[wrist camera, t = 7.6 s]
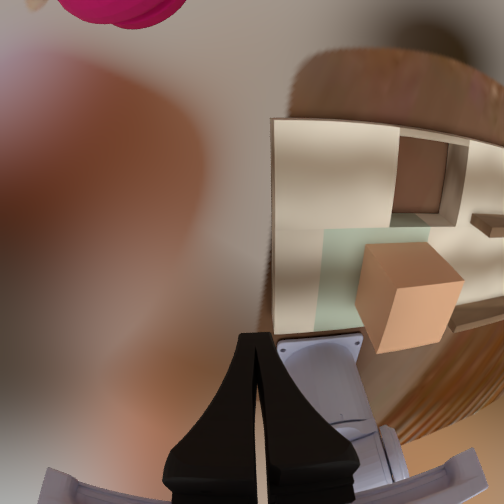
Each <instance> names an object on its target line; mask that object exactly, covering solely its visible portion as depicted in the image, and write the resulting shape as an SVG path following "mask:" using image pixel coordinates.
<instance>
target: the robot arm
mask: <svg viewBox="0 0 504 504" xmlns="http://www.w3.org/2000/svg"><path fill="white" fill-rule="evenodd" d="M357 341H358V342H357ZM362 341H363V335H362V334H361V333H355V334H346V335H337V336H328V337H317V338H305V339H292V340H281V341H279V342H278V344H277V349H276V347H275V344H274V342H273V338H272V335H271V333H270V332H258V333H241V334H239V337H238V342H237V346H236V350H235V353H234V356H233V359H232V362H231V364H230V366H229V369H228V372H227V374H226V376H225V378H224V380H223V382H222V384H221V386H220V388H219V390H218V391H217V393H216V395H215V397H214V398H213V400H212V402H211V403H210V405H209V406H208V408H207V409H206V411H205V412H204V413H203V415H202V416H201V417H200V419H199V420H198V421H197V422H196V424H195V425H194V426H193V427H192V428H191V430H190V431H189V432H188V433H187V434H186V435H185V436H184V438H183V439H182V440H181V441H180V442H179V443H178V444H177V445H176V446H175V447H174V448H173V449H172V450H171V451H170V453H169V455H168V458H167V460H166V463H165V466H164V472H163V479H162V482H163V484H164V485H165V486H166V487H167V488H168V489H169V490H171V491H172V502H169V501H162V500H156V499H149V498H143V497H138V496H133V495H128V494H124V493H119V492H115V491H110V490H107V489H103V488H99V487H96V486H92V485H89V484H86V483H82V482H79V481H78V480H77V479H75V478H74V477H72V476H71V475H69V474H66V473H63V472H60V471H58V470H55V469H52V468H50V467H48V468H47V471H46V474H45V477H44V481H43V484H42V488H41V492H40V496H39V500H38V504H258V498H257V478H256V454H255V408H256V392H257V385H258V392H259V398H260V404H261V410H262V417H263V424H264V436H265V454H266V474H267V494H268V504H461V503H463V502H465V501H467V500H469V499H470V498H472V497H474V496H475V495H477V494H479V493H480V492H482V491H484V490H485V489H487V488H488V484H487V481H486V478H485V475H484V473H483V470H482V467H481V465H480V462H479V460H478V457H477V455H476V452H475V450H474V448H470V449H468V450H466V451H464V452H461V453H459V454H457V455H455V456H453V457H452V458H450V459H449V460H448V461H447V462H445V464H443V465H441V466H438V467H436V468H434V469H431V470H428V471H426V472H423V473H421V474H418V475H415V476H412V477H409V473H408V469H407V466H406V462H405V459H404V455H403V452H402V449H401V446H400V443H399V440H398V437H397V434H396V432H395V430H394V428H391V427H388V426H387V425H383V426H381V427H380V431H381V434H382V439H381V436H380V433H379V430H378V427H377V425H376V422H375V419H374V418H373V414H372V411H371V408H370V405H369V402H368V399H367V396H366V393H365V390H364V387H363V384H362V381H361V378H360V375H359V372H358V369H357V366H356V361H357V358H358V354H359V351H360V348H361V344H362ZM382 440H383V442H382ZM383 444H384V446H383ZM384 447H385V449H384ZM392 475H393V477H392ZM393 479H394V480H393Z"/></svg>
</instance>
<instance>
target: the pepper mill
mask: <svg viewBox="0 0 504 504" xmlns="http://www.w3.org/2000/svg"><path fill="white" fill-rule="evenodd" d="M58 1H59V2H60V4H61V5H62V6H63V7H64V9H66V10H67V11H68V12H70V13H71V14H72V15H74V16H76V17H78V18H79V19H81V20H83V21H86V22H89V23H95V24H113V25H115V26H117V27H120V28H124V29H141V28H147V27H150V26H153V25H156V24H158V23H160V22H162V21H164V20H166V19H167V18H169V17H170V16H171V15H173V14H174V13H175V12H176V11H177V10H178V9H180V8H181V6H182V5H183V4H184V3H185V1H186V0H58Z"/></svg>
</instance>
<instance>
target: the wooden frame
mask: <svg viewBox="0 0 504 504" xmlns="http://www.w3.org/2000/svg"><path fill="white" fill-rule="evenodd" d="M470 224H472V225H473V226H474V227H476V228H477V229H478V230H480V231H481V232H482V233H484V234H485V235H486V236H487V237H489V238H504V215H500V214H478V213H472V216H471V221H470ZM500 320H504V296H500V297H495V298H491V299H486V300H481V301H477V302H472V303H467V304H461V305H456V306H455V308H454V310H453V313H452V315H451V317H450V320H449V322H448V324H447V325H448V326H449V328H450V329H451V330H452V332H453V333H456V332H460V331H464V330H468V329H472V328H476V327H479V326H483V325H487V324H490V323H494V322H497V321H500Z"/></svg>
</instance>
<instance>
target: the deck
mask: <svg viewBox="0 0 504 504" xmlns="http://www.w3.org/2000/svg"><path fill="white" fill-rule="evenodd" d="M399 136H407V137H415V138H422V139H429V140H435V141H441V142H447V143H449V145H448V155H447V164H446V172H445V179H444V186H443V192H442V198H441V204H440V209H439V214H428V213H391V212H392V205H393V198H394V190H395V182H396V172H397V162H398V150H399ZM270 140H271V197H272V199H271V200H272V320H273V328H274V334H289V333H303V332H315V331H326V330H337V329H346V328H355V327H364V325H363V322H362V320H361V318H360V316H359V314H358V311H357V309H356V307H355V300H356V295H357V290H358V285H359V279H360V274H361V268H362V263H363V257H364V250H365V244H380V243H407V242H427V243H428V244H430V245H431V246H432V247H433V248H434V249H435V250H436V251H437V252H438V253H439V254H440V255H441V256H442V257H443V258H444V259H445V260H446V261H447V262H448V263H449V264H450V265H451V266H452V267H453V268H454V269H455V271H456V272H457V273H458V274H459V275H460V276H461V277H462V278H463V279H464V280H465V282H464V284H463V287H462V290H461V293H460V295H459V298H458V300H457V303H456V305H461V304H467V303H472V302H477V301H481V300H486V299H491V298H495V297H500V296H504V238H489V237H487V236H486V235H485V234H484V233H482V232H481V231H480V230H478V229H477V228H476V227H474V226H473V225H472V224H470V221H471V216H472V213H478V214H500V215H504V147H503V146H499V145H496V144H492V143H488V142H484V141H480V140H476V139H472V138H468V137H463V136H459V135H454V134H449V133H444V132H438V131H433V130H427V129H421V128H415V127H408V126H401V125H393V124H385V123H376V122H365V121H354V120H339V119H320V118H270ZM456 305H455V306H456Z"/></svg>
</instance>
